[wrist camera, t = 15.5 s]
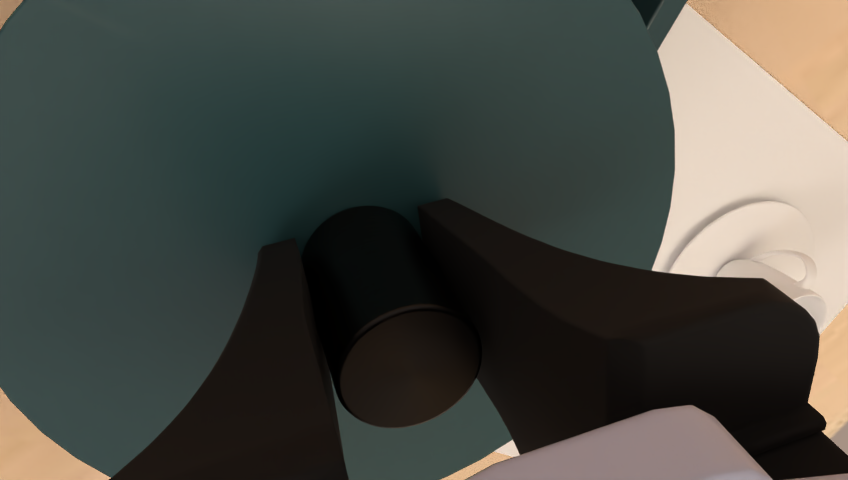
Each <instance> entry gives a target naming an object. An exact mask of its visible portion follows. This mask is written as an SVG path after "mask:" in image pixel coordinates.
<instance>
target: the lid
mask: <svg viewBox="0 0 848 480" xmlns="http://www.w3.org/2000/svg"><path fill="white" fill-rule="evenodd" d="M674 175H675V129H674V122H673V114H672V107H671V100H670V93H669V89H668V86H667V82H666V79H665V75H664V72H663V68H662V65H661V62H660V58H659V55H658V52H657V50H656V47H655V45H654V43H653V41H652V39H651V37H650V34H649V32H648V30H647V28H646V26H645V23H644V21H643V19H642V17H641V15H640V13H639V11H638V10H637V8H636V7H635V5H634V4H633V2H632V1H631V0H23V1H22V3H21V4H20V5H19V6H18V7H17V8H16V10H15V11H14V12H13V13H12V14H11V15H10V17H9V18H8V19H7V20H6V21H5V23H4V25H3V26H2V28H1V30H0V387H1V389H2V390H3V391H4V393H5V394H6V395H7V397H8V398H9V399H10V401H11V402H12V403H13V404H14V405H15V406H16V407H17V408H18V409H19V410H20V411H21V412H22V413H23V414H24V415H25V416H26V417H27V418H28V419H29V420H30V421H31V422H32V423H33V424H34V425H35V426H36V427H37V428H38V429H39V430H40V431H41V432H42V433H43V434H45V435H46V436H47V437H49V438H50V439H51V440H53V441H54V442H55V443H57V444H58V445H59V446H61V447H62V448H63V449H65V450H66V451H67V452H69V453H70V454H71V455H73V456H74V457H75V458H77V459H79V460H81V461H82V462H84V463H86V464H88V465H90V466H91V467H93V468H95V469H97V470H98V471H100V472H102V473H104V474H105V475H107V476H109V477H111V478H112V477H113V476H114V475H115V474H116V473H118V472H119V471H120V470H121V469H122V468H123V467H124V466H126V465H127V464H128V463H129V462H130V461H131V460H132V459H134V458H135V457H136V456H137V455H138V454H139V453H141V452H142V451H143V450H144V449H145V448H146V447H147V446H148V445H149V444H150V443H151V442H152V441H153V440H154V439H155V438H156V437H157V436H158V435H159V434H160V433H161V432H162V431H163V430H164V429H165V428H166V427H167V426H168V425H169V424H170V423H171V422H172V421H173V420H174V418H175V417H176V416H177V415H178V414H179V413H180V412H181V411H182V409H183V408H184V407H185V406H186V405H187V404H188V402H189V401H190V400H191V398H192V397H193V396H194V394H195V393H196V392H197V390H198V389H199V388H200V386H201V385H202V383H203V382H204V381H205V379H206V378H207V376H208V375H209V373H210V372H211V370H212V368H213V367H214V365H215V364H216V362H217V360H218V359H219V357H220V355H221V353H222V352H223V350H224V348H225V346H226V344H227V342H228V340H229V338H230V336H231V334H232V332H233V330H234V327H235V325H236V323H237V321H238V319H239V316H240V314H241V312H242V309H243V307H244V304H245V301H246V298H247V295H248V292H249V290H250V287H251V283H252V280H253V276H254V273H255V269H256V264H257V258H258V252H259V251H260V249H261V248H262V246H265V245H269V244H273V243H277V242H281V241H284V240H288V239H292V238H295V241H296V243H297V246H298V249H299V252H300V256H301V260H302V264H303V268H304V272H305V275H306V279H307V283H308V287H309V291H310V295H311V299H312V304H313V309H314V315H315V320H316V325H317V329H318V333H319V336H320V339H321V343H322V346H323V350H324V353H325V357H326V360H327V363H328V367H329V370H330V375H331V381H332V387H333V393H334V399H335V405H336V412H337V418H338V424H339V430H340V436H341V442H342V448H343V454H344V460H345V465H346V470H347V474H348V477H349V480H440V479H442V478H445V477H447V476H449V475H451V474H453V473H455V472H457V471H459V470H461V469H463V468H465V467H467V466H469V465H471V464H473V463H475V462H477V461H479V460H481V459H482V458H484V457H486V456H487V455H489V454H490V453H492V452H494V451H495V450H497V449H499V448H500V447H502V446H503V445H505V444H507V443H508V442H510V441H511V440H513V439H512V437H511V435H510V433H509V431H508V429H507V427H506V425H505V424H504V422H503V420H502V418H501V416H500V415H499V413H498V411H497V409H496V408H495V406H494V405H493V403H492V402H491V400H490V398H489V397H488V395H487V394H486V392H485V390H484V389H483V387H482V386H481V384H480V382H479V381H478V379H477V378H476V377H477V375H478V372H479V370H480V366H481V361H482V343H481V339H480V336H479V333H478V331H477V329H476V327H475V326H474V324H473V323H472V321H471V319H470V318H469V316H468V314H467V313H466V311H465V310H464V308H463V306H462V305H461V303H460V301H459V300H458V298H457V297H456V295H455V293H454V292H453V290H452V288H451V287H450V285H449V284H448V282H447V280H446V279H445V277H444V275H443V274H442V272H441V271H440V269H439V267H438V266H437V264H436V262H435V261H434V259H433V257H432V256H431V254H430V253H429V251H428V249H427V248H426V246H425V244H424V243H423V241H422V235H421V228H420V221H419V214H418V207H417V206H419V205H422V204H426V203H430V202H434V201H438V200H442V199H445V198H448V199H451V200H453V201H455V202H457V203H459V204H461V205H463V206H465V207H467V208H469V209H471V210H473V211H475V212H477V213H479V214H481V215H483V216H485V217H487V218H489V219H491V220H493V221H495V222H497V223H499V224H502V225H504V226H506V227H508V228H510V229H512V230H515V231H517V232H519V233H521V234H524V235H526V236H528V237H531V238H533V239H536V240H539V241H541V242H544V243H546V244H549V245H552V246H554V247H557V248H560V249H563V250H566V251H569V252H572V253H576V254H579V255H583V256H586V257H590V258H593V259H597V260H601V261H605V262H609V263H613V264H618V265H624V266H629V267H634V268H639V269H645V270H651V271H652V268H653V265H654V263H655V260H656V257H657V255H658V252H659V249H660V246H661V244H662V240H663V236H664V232H665V228H666V224H667V220H668V215H669V211H670V207H671V199H672V191H673V183H674Z"/></svg>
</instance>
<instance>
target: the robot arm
mask: <svg viewBox="0 0 848 480" xmlns="http://www.w3.org/2000/svg"><path fill="white" fill-rule="evenodd" d="M417 207H418V214H419V221H420V228H421V235H422V241H423V243H424V244H425V246H426V248H427V249H428V251H429V253H430V254H431V256H432V257H433V259H434V261H435V262H436V264H437V266H438V267H439V269H440V271H441V272H442V274H443V275H444V277H445V279H446V280H447V282H448V284H449V285H450V287H451V288H452V290H453V292H454V293H455V295H456V297H457V298H458V300H459V301H460V303H461V305H462V306H463V308H464V310H465V311H466V313H467V314H468V316H469V318H470V319H471V321H472V323H473V324H474V326H475V327H476V329H477V331H478V333H479V336H480V339H481V343H482V361H481V366H480V370H479V372H478V375H477V377H476V378H477V379H478V381H479V382H480V384H481V386H482V387H483V389H484V390H485V392H486V394H487V395H488V397H489V398H490V400H491V402H492V403H493V405H494V406H495V408H496V409H497V411H498V413H499V415H500V416H501V418H502V420H503V422H504V424H505V425H506V427H507V429H508V431H509V433H510V435H511V437H512V439H513V441H514V443H515V446H516V448H517V450H518V452H519V454H520V455H519V456H516V457H513V458H510V459H507V460H504V461H501V462H498V463H495V464H493V465H491V466H489V467H487V468H485V469H484V470H482V471H480V472H478V473H476V474H474V475H473V476H471V477H469V478H467V479H465V480H848V455H847V454H845V453H844V452H843V451H842V450H841V449H840V448H839V447H838V446H836V444H834V442H832V441H831V440H830V439H829V438H828V437H827V436H826V435H825V434H824V433H823V432H822V431H823V430H825V427H826V421H825V419H824V417H823V416H822V415H821V414H820V413H819V412H818V411H817V410H815V409H814V408H813V407H812V406H811V405H810V404H809V403H808V398H809V394H810V390H811V385H812V381H813V376H814V372H815V368H816V363H817V359H818V349H819V337H820V336H819V332H818V328H817V325H816V321H815V320H814V319H813V317H812V316H811V315H810V314H809V313H808V311H807V310H806V309H805V308H803V307H802V306H801V305H799V304H798V303H796V302H795V301H794V300H792V299H791V298H790V297H788V296H787V295H786V294H784V293H783V292H782V291H780V290H779V289H778V288H776V287H775V286H774V285H772V284H771V283H770V282H768V281H767V280H765V279H764V278H739V277H706V276H694V275H684V274H674V273H665V272H658V271H651V270H645V269H639V268H634V267H629V266H624V265H618V264H613V263H609V262H605V261H601V260H597V259H593V258H590V257H586V256H583V255H579V254H576V253H572V252H569V251H566V250H563V249H560V248H557V247H554V246H552V245H549V244H546V243H544V242H541V241H539V240H536V239H533V238H531V237H528V236H526V235H524V234H521V233H519V232H517V231H515V230H512V229H510V228H508V227H506V226H504V225H502V224H499V223H497V222H495V221H493V220H491V219H489V218H487V217H485V216H483V215H481V214H479V213H477V212H475V211H473V210H471V209H469V208H467V207H465V206H463V205H461V204H459V203H457V202H455V201H453V200H451V199H448V198H445V199H442V200H438V201H434V202H430V203H426V204H422V205H419V206H417ZM109 480H349V477H348V474H347V470H346V465H345V460H344V454H343V448H342V442H341V436H340V430H339V424H338V418H337V412H336V405H335V399H334V393H333V387H332V381H331V375H330V370H329V367H328V363H327V360H326V357H325V353H324V350H323V346H322V343H321V339H320V336H319V333H318V329H317V325H316V320H315V315H314V309H313V304H312V299H311V295H310V291H309V287H308V283H307V279H306V275H305V272H304V268H303V264H302V260H301V256H300V252H299V249H298V246H297V243H296V241H295V238H292V239H288V240H284V241H281V242H277V243H273V244H269V245H265V246H262V248H261V249H260V251H259V252H258V258H257V264H256V269H255V273H254V276H253V280H252V283H251V287H250V290H249V292H248V295H247V298H246V301H245V304H244V307H243V309H242V312H241V314H240V316H239V319H238V321H237V323H236V325H235V327H234V330H233V332H232V334H231V336H230V338H229V340H228V342H227V344H226V346H225V348H224V350H223V352H222V353H221V355H220V357H219V359H218V360H217V362H216V364H215V365H214V367H213V368H212V370H211V372H210V373H209V375H208V376H207V378H206V379H205V381H204V382H203V383H202V385H201V386H200V388H199V389H198V390H197V392H196V393H195V394H194V396H193V397H192V398H191V400H190V401H189V402H188V404H187V405H186V406H185V407H184V408H183V409H182V411H181V412H180V413H179V414H178V415H177V416H176V417H175V418H174V420H173V421H172V422H171V423H170V424H169V425H168V426H167V427H166V428H165V429H164V430H163V431H162V432H161V433H160V434H159V435H158V436H157V437H156V438H155V439H154V440H153V441H152V442H151V443H150V444H149V445H148V446H147V447H146V448H145V449H144V450H143V451H142V452H141V453H139V454H138V455H137V456H136V457H135V458H134V459H132V460H131V461H130V462H129V463H128V464H127V465H126V466H124V467H123V468H122V469H121V470H120V471H119V472H118V473H116V474H115V475H114V476H113V477H112V478H111V479H109Z"/></svg>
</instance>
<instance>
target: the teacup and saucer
mask: <svg viewBox="0 0 848 480" xmlns="http://www.w3.org/2000/svg"><path fill="white" fill-rule="evenodd" d="M815 249H816V242H815V234H814V230H813V227H812V225H811V223H810V221H809V219H808V218H807V217H806V215H805V214H804V213H803V212H802V211H801V210H799V209H798V208H797V207H795V206H793V205H791V204H789V203H786V202H783V201H777V200H762V201H756V202H751V203H747V204H744V205H741V206H739V207H736V208H734V209H732V210H730V211H728V212H726V213H724V214H722V215H721V216H719V217H718V218H716V219H715V220H713V221H712V222H710V223H709V224H708V225H706V226H705V227H704V228H703V229H702V230H701V231H699V232H698V233H697V234H696V235H695V236H694V237H693V238H692V239H691V240H690V241H689V242H688V244H687V245H686V246H685V247H684V248H683V250H682V251H681V252H680V253H679V255H678V256H677V258H676V259H675V261H674V262H673V264H672V266H671V267H670V269H669V271H668V273H674V274H684V275H694V276H706V277H739V278H764V279H765V280H767V281H768V282H770V283H771V284H772V285H774V286H775V287H776V288H778V289H779V290H780V291H782V292H783V293H784V294H786V295H787V296H788V297H790V298H791V299H792V300H794V301H795V302H796V303H798V304H799V305H801V306H802V307H803V308H805V309H806V310H807V311H808V313H809V314H810V315H811V316H812V317H813V319H814V320H815V321H816V325H817V328H818V332H819V335H820V334H821V333H822V332H823V331H824V329H823V328H824V326H825V324H826V322H827V319H828V315H829V306H828V303H827V301H826V300H825V299H824V298H823V297H822V296H821V295H820V294H818V293H817V292H815V291H814V290H812V289H811V287H812V286H813V285H814V283H815V282H816V280H817V277H818V268H817V265H816V262H815V261H814V257H815Z"/></svg>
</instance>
